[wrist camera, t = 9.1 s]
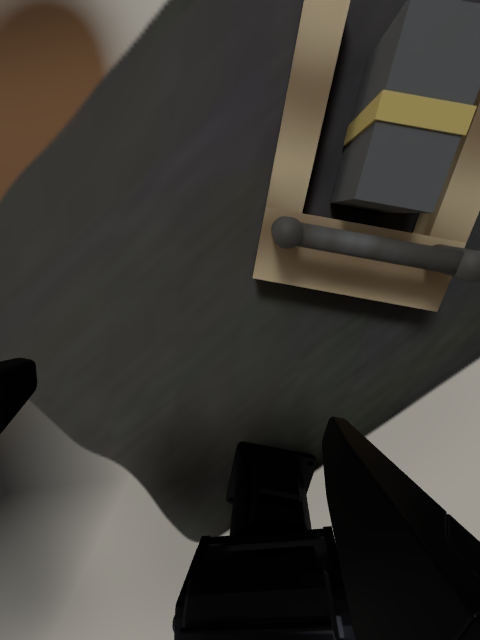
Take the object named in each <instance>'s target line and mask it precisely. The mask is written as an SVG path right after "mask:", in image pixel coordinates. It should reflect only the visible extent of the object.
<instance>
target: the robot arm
mask: <svg viewBox="0 0 480 640" xmlns="http://www.w3.org/2000/svg"><path fill="white" fill-rule="evenodd" d="M36 387H37V375H36V364H35V362H34V361H33V360H30V359H25V358H15V359H10V360H5V361H1V362H0V434H1V432H2V431H3V430H4V429H5V428H6V426H7V425H8V424H9V423H10V421H11V420H12V419H13V418H14V417H15V415H16V414H17V412H19V410H20V409H21V408H22V406H23V405H24V404H25V403H26V402H27V400H28V399H29V398H30V397H31V395H32V394H33V393H34V391H35V390H36ZM241 448H245V449H241ZM322 453H323V464H324V475H325V486H326V495H327V502H328V507H329V512H330V517H331V522H332V527H333V531H332V527H331V526H330V527H323V529H313V530H312V529H311V522H310V516H309V510H308V503H307V497H306V494H307V491H308V488H309V485H310V482H311V479H312V476H313V473H314V470H315V467H316V458H315V457H314V456H313V455H310V454H304V453H299V452H294V451H289V450H283V449H278V448H273V447H268V446H262V445H257V444H252V443H247V442H240V443H238V445H237V448H236V453H235V458H234V462H233V467H232V472H231V477H230V482H229V486H228V491H227V497H226V500H227V502H228V503H230V504H233V508H232V518H231V527H230V536H219V537H210V536H202V537H201V540H200V542H199V545H198V548H197V549H196V552H195V555H194V557H193V560H192V563H191V566H190V568H189V571H188V573H187V576H186V579H185V581H184V584H183V587H182V589H181V592H180V595H179V597H178V600H177V603H176V608H175V616H174V619H173V631H174V633H175V634H174V640H480V541H478V540H477V539H476V538H475V537H474V536H473V535H472V534H470V533H469V532H468V531H467V530H466V529H465V528H464V527H463V526H462V525H460V524H459V523H458V522H457V521H456V520H455V519H454V518H453V517H452V516H451V515H449V514H447V513H446V511H445V510H444V509H443V508H442V507H441V506H440V505H438V504H437V503H436V502H435V501H434V500H433V499H432V498H431V497H430V496H429V495H427V493H425V492H424V491H423V490H422V489H421V488H420V487H419V486H418V485H417V484H416V483H415V482H413V481H412V480H411V479H410V478H409V477H408V476H407V475H406V474H405V473H404V472H402V471H401V470H400V469H399V468H398V467H397V466H396V465H395V464H394V463H393V462H392V461H390V460H389V459H388V458H387V457H386V456H385V455H384V454H383V453H382V452H381V451H379V450H378V449H377V448H376V447H375V446H374V445H373V444H372V443H371V442H370V441H369V440H367V439H366V438H365V437H364V436H363V435H362V434H361V433H360V432H359V431H358V430H357V429H355V428H354V427H353V426H352V425H351V424H350V423H349V422H348V421H347V420H345V419H343V418H338V417H331V418H330V419H329V421H328V424H327V427H326V430H325V433H324V436H323V439H322ZM308 461H311V462H308ZM333 532H334V535H333ZM334 537H335V539H334ZM335 542H336V543H335Z"/></svg>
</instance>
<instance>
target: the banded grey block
mask: <svg viewBox="0 0 480 640" xmlns="http://www.w3.org/2000/svg"><path fill="white" fill-rule="evenodd" d="M479 88H480V4H478V3H473V2H467V1H461V0H407V1H406V3H405V4H404V6H403V7H402V9H401V10H400V12H399V13H398V15H397V16H396V18H395V19H394V21H393V22H392V24H391V25H390V26H389V28H388V29H387V31H386V32H385V34H384V35H383V37H382V38H381V40H380V41H379V43H378V44H377V46H376V47H375V49H374V50H373V52H372V53H371V55H370V56H369V58H368V59H367V63H366V67H365V70H364V74H363V78H362V82H361V86H360V90H359V94H358V98H357V102H356V105H355V109H354V113H353V117H352V121H351V123H350V124H349V126H348V129H347V133H346V137H345V141H344V145H343V146H345V148H344V152H343V156H342V160H341V164H340V168H339V172H338V175H337V179H336V183H335V187H334V191H333V195H332V199H331V203H335V204H341V205H346V206H352V207H357V208H363V209H368V210H374V211H379V212H385V213H433V212H434V209H435V207H436V204H437V201H438V199H439V196H440V193H441V190H442V188H443V185H444V182H445V180H446V177H447V174H448V172H449V169H450V166H451V164H452V161H453V158H454V156H455V153H456V150H457V148H458V145H459V142H460V139H461V137H463V136H465V135H466V134H467V131H468V129H469V126H470V123H471V121H472V118H473V115H474V113H475V110H476V107H477V106H474V102H475V99H476V96H477V94H478V91H479Z"/></svg>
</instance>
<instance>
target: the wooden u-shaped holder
mask: <svg viewBox="0 0 480 640" xmlns="http://www.w3.org/2000/svg"><path fill="white" fill-rule="evenodd" d="M349 4H350V0H304V4H303V9H302V15H301V20H300V25H299V31H298V36H297V42H296V47H295V52H294V58H293V63H292V69H291V74H290V79H289V85H288V90H287V95H286V101H285V106H284V112H283V117H282V122H281V128H280V133H279V139H278V144H277V149H276V155H275V160H274V165H273V171H272V176H271V182H270V187H269V192H268V198H267V203H266V208H265V214H264V219H263V225H262V230H261V235H260V241H259V246H258V252H257V257H256V262H255V268H254V273H253V278H255V279H260V280H265V281H271V282H276V283H282V284H287V285H293V286H298V287H304V288H309V289H315V290H320V291H326V292H331V293H337V294H342V295H347V296H353V297H358V298H364V299H369V300H375V301H380V302H386V303H391V304H397V305H402V306H408V307H413V308H419V309H424V310H430V311H435V312H437V311H438V309H439V306H440V304H441V302H442V299H443V297H444V295H445V292H446V290H447V287H448V285H449V283H450V280H451V278H452V277H455V278H458V279H461V280H464V281H467V282H477V281H480V251H477V250H471V249H466V248H464V247H465V245H466V242H467V240H468V237H469V235H470V233H471V230H472V228H473V226H474V223H475V221H476V218H477V216H478V214H479V211H480V88H479V91H478V94H477V96H476V99H475V102H474V106H477V107H476V110H475V113H474V115H473V118H472V121H471V123H470V126H469V129H468V131H467V134H466V135H465V136H463V137H461V139H460V142H459V145H458V148H457V150H456V153H455V156H454V158H453V161H452V164H451V166H450V169H449V172H448V174H447V177H446V180H445V182H444V185H443V188H442V190H441V193H440V196H439V199H438V201H437V204H436V207H435V209H434V212H433V213H420V214H419V216H418V219H417V222H416V225H415V228H414V230H413V233H409V232H403V231H398V230H392V229H387V228H381V227H376V226H370V225H364V224H359V223H353V222H348V221H342V220H337V219H331V218H325V217H320V216H314V215H309V214H303V213H302V211H303V207H304V203H305V198H306V194H307V189H308V185H309V181H310V176H311V172H312V167H313V163H314V159H315V154H316V150H317V145H318V141H319V136H320V132H321V128H322V123H323V119H324V114H325V110H326V106H327V101H328V97H329V92H330V88H331V84H332V79H333V75H334V70H335V66H336V62H337V57H338V53H339V48H340V44H341V39H342V35H343V31H344V26H345V22H346V17H347V13H348V9H349Z"/></svg>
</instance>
